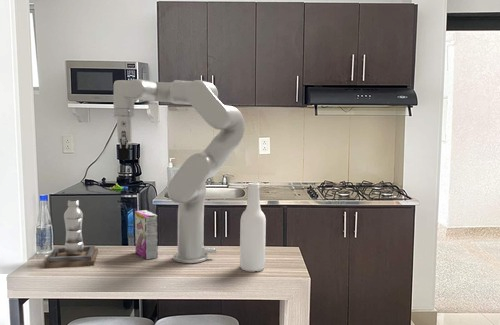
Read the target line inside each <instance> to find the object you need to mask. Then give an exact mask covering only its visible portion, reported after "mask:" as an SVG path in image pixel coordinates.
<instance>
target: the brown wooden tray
mask: <svg viewBox="0 0 500 325" xmlns="http://www.w3.org/2000/svg"><path fill="white" fill-rule="evenodd" d="M64 248H65V246H61V247H60V246H59V247H58V246H57V247H55V248H54V249H53V250H52V252H51V253H50V254H49V256H48V258H47V259H46V261H45V262H44V268H45V269H50V268H66V267H67V268H69V267H85V266H86V267H90V266H95V263H96V260H97V256H98V254H99V249H98V248H96V245H84V250H83V252H82V253H81V254H78V255H67V254H66V252H65V249H64Z"/></svg>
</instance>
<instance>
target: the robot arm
mask: <svg viewBox="0 0 500 325" xmlns="http://www.w3.org/2000/svg"><path fill="white" fill-rule="evenodd" d="M218 97H219V91H218V89H217V87H216V85H214V83H212V82H209V81H205V80H200V79H195V80H179V79H175V80H173V81H172V82H166V81H165V82H161V81H159V82H158V81H151V80H147V79H140V78H136V79H130V80H129V79H128V80H126V79H125V80H124V79H121V80H120V79H119V80H115V81H114V83H113V118H116V131H117V141H118V142H117V143H119V149H118V151H119V153H118V154H119V155H118V156H119V160H122V161H123V160H125V161H126V160H129V157H130V147H129V144H132V143H133V123H132V118H135V100H138V101H146V102H161V103H172V104H177V105H191V106H192V108H193V109H194V110H195V111H196V112H197V114H199V116H200V117H201V118H202V119H203V120H204V121H205V123H206V124H207V125H209V126H210V127H211V128H213V129H215V130H219V133H217V135H215V136H214V137H213V139H212V140H211V141H210V142H209V144H208V145H207V146H206V148H205V149H204V150H202V151H199V152H196V153H193V154H191V155H190V156H189V157H188V158H187V159H185V161H184V162H183V163H182V165H181V166H180V167H179V169H178V170H177V171H176V173H175V174H174V175H173V177H172V178H170V181H169V182H168V185H167V192H166V193H167V196H168V198H169V199H170V200H171V201H172V202H174V203H176V204H178V205H177V206H178V208H177V252H176V253H175V254H174V255H173V258H172V259H173V261H175V262H177V263H182V264H195V263H196V264H197V263H198V264H199V263H202V262H205V261H206V260H207V259H208V257H209V256H208V254H216V253H217V248H215V247H212V246H211V247H205V245H204V233H205V232H204V229H205V228H204V227H205V226H204V224H205V223H204V222H205V221H204V217H205V200H206V192H207V185H206V182H205V181H206V180H207V179H211V178H213V177H215V176H216V175H218V173H219V171H220V170H221V169H222V167H223V166H224V164H225V163H226V162H227V161H228V159H229V158H230V157H231V155H232V154H233V153H234V152H235V150H236V149H237V148H238V146H239V145H240V144H241V141H242V140H243V138H244V135H245V133H246V132H245V131H246V122H245V119H244V116H243V114H242V112H241V111H240V110H239V109H238V108H237V107H235V106H234V105H233V106H232V105H228V104H223V103H222V102H221V100H219V98H218Z"/></svg>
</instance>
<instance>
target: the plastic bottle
mask: <svg viewBox="0 0 500 325" xmlns="http://www.w3.org/2000/svg"><path fill="white" fill-rule="evenodd" d="M79 206H80V200H79V199H68V200H67V209H66V210H65V212H64V214H63V220H64V225H65V243H64V247H65V248H64V249H65V252H66V254H67V255H78V254H81V253H82V252H83V250H84V246H85V245H84V241H83V233H82V229H83V218H84V213H83V211H82V209H81V208H80V207H79Z"/></svg>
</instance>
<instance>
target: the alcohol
mask: <svg viewBox="0 0 500 325" xmlns="http://www.w3.org/2000/svg"><path fill="white" fill-rule="evenodd" d="M247 184H248V186H247V188H248V190H247V200H246V208H245V210H244V211H243V212H242V214H241V217H240V229H239V230H240V232H239V234H240V236H239V237H240V238H239V267H240V269H241V270H242V271H244V270H245V272H249V273H251V272H253V273H255V271H257V272H261V271H263V270H264V269H265V266H266V235H267V234H266V231H267V230H266V226H267V223H266V222H267V219H266V215H265V214H264V212H263V211H262V208H261V201H260V200H261V199H260V196H261V195H260V183H258V182H248V183H247ZM263 268H264V269H263Z"/></svg>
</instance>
